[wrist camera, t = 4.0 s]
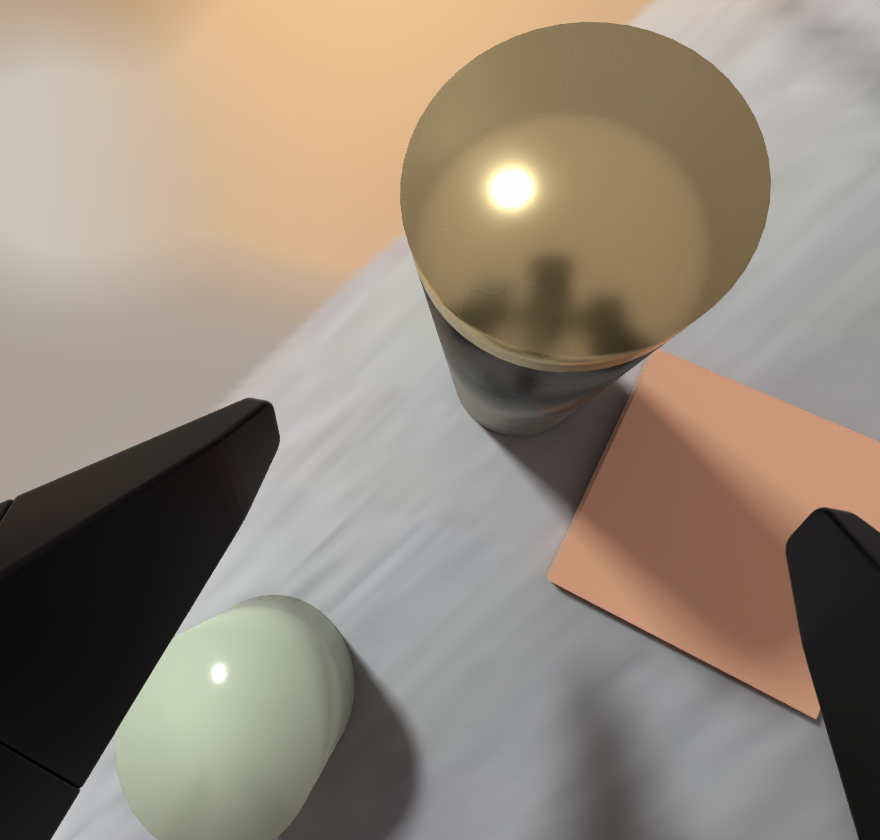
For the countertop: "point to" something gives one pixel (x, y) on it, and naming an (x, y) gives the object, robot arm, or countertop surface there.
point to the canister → (577, 212)
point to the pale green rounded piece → (236, 722)
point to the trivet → (713, 519)
